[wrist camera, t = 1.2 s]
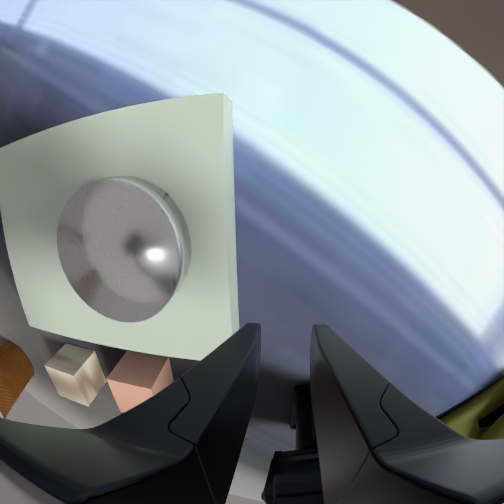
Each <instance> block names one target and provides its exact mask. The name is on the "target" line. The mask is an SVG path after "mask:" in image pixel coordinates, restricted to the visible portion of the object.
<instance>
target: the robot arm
mask: <svg viewBox="0 0 504 504" xmlns="http://www.w3.org/2000/svg"><path fill="white" fill-rule="evenodd" d="M260 353H261V325H260V324H259V323H246V324H245V325H244V326H242V327H241V328H240V329H239V330H238V331H236V332H235V333H234V334H233V335H232V336H230V337H229V338H228V339H227V340H226V341H224V342H223V343H222V344H221V345H219V346H218V347H217V348H216V349H214V350H213V351H212V352H211V353H209V354H208V355H207V356H206V357H204V358H203V359H202V360H201V361H199V362H198V363H197V364H196V365H194V366H193V367H192V368H191V369H189V370H188V371H187V372H185V373H184V374H183V375H182V376H181V377H180V378H177V379H176V380H175V381H174V382H172V383H171V384H170V385H168V386H167V387H165V388H164V389H163V390H161V391H160V392H158V393H157V394H155V395H154V396H152V397H150V398H149V399H147V400H145V401H144V402H142V403H140V404H139V405H137V406H135V407H133V408H132V409H130V410H128V411H126V412H124V413H122V414H121V415H119V416H117V417H115V418H113V419H111V420H109V421H108V422H106V423H104V424H101V425H99V426H96V427H93V428H89V429H66V428H56V427H48V426H40V425H33V424H27V423H21V422H15V421H10V420H7V419H3V418H0V504H225V502H226V499H227V496H228V493H229V489H230V486H231V483H232V479H233V476H234V473H235V469H236V466H237V462H238V459H239V455H240V452H241V448H242V445H243V441H244V437H245V434H246V430H247V427H248V423H249V419H250V415H251V412H252V408H253V404H254V400H255V396H256V390H257V382H258V373H259V363H260ZM298 390H301V391H298ZM290 428H291V429H296V450H294V451H284V452H282V451H275V453H274V457H273V459H272V461H271V465H270V469H269V473H268V476H267V480H266V484H265V488H264V490H263V492H262V495H261V497H262V500H263V501H265V502H266V504H504V439H497V440H476V439H471V438H468V437H465V436H463V435H461V434H459V433H458V432H456V431H455V430H453V429H452V428H450V427H449V426H447V425H446V424H444V423H443V422H441V421H440V420H439V419H437V418H436V417H434V416H433V415H431V414H430V413H428V412H427V411H426V410H424V409H423V408H421V407H420V406H419V405H417V404H416V403H415V402H413V401H412V400H411V399H410V398H408V397H407V396H406V395H405V394H404V393H402V392H401V391H400V390H399V389H398V388H397V387H395V386H394V385H393V384H392V383H390V381H389V380H388V379H386V378H385V377H384V376H383V375H382V374H381V373H380V372H379V371H377V370H376V369H375V368H374V367H373V366H372V365H371V364H370V363H369V362H367V361H366V360H365V359H364V358H363V357H362V356H361V355H360V354H359V353H357V352H356V351H355V350H354V349H353V348H352V347H351V346H350V345H349V344H347V343H346V342H345V341H344V340H343V339H342V338H341V337H340V336H339V335H337V334H336V333H335V332H334V331H333V330H332V329H331V328H330V327H329V326H327V325H314V326H313V328H312V336H311V345H310V385H298V386H296V387H295V388H294V394H293V403H292V411H291V419H290Z"/></svg>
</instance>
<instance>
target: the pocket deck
mask: <svg viewBox="0 0 504 504" xmlns="http://www.w3.org/2000/svg"><path fill="white" fill-rule="evenodd" d="M121 176H132V177H138V178H142V179H145V180H147V181H149V182H151V183H153V184H155V185H156V186H158V187H160V188H161V189H162V190H163V191H164V192H166V193H168V195H169V196H170V198H171V199H172V200H173V201H174V202H175V204H176V205H177V206H178V208H179V209H180V211H181V213H182V215H183V217H184V219H185V222H186V224H187V227H188V231H189V234H190V240H191V262H190V266H189V270H188V273H187V276H186V278H185V280H184V282H183V283H182V285H181V286H180V288H179V289H178V290H177V291H176V293H175V294H174V295H173V297H172V298H171V299H170V301H169V302H168V303H167V304H166V306H165V307H164V308H163V309H162V310H161V311H160V312H159V313H158V314H156V315H155V316H153V317H151V318H149V319H147V320H144V321H140V322H132V323H129V322H120V321H115V320H113V319H110V318H107V317H105V316H103V315H101V314H99V313H98V312H96V311H95V310H93V309H92V308H91V307H89V306H88V305H87V304H86V303H85V302H84V301H83V300H82V299H81V298H80V297H79V296H78V294H77V293H76V292H75V291H74V289H73V288H72V286H71V285H70V283H69V281H68V279H67V277H66V275H65V273H64V271H63V268H62V265H61V262H60V258H59V254H58V247H57V229H58V223H59V219H60V215H61V213H62V210H63V208H64V206H65V204H66V203H67V201H68V199H69V198H70V197H71V196H72V195H73V194H74V193H75V192H76V191H77V190H78V189H80V188H81V187H83V186H84V185H86V184H89V183H91V182H95V181H100V180H105V179H110V178H116V177H121ZM0 210H1V217H2V224H3V230H4V235H5V241H6V246H7V251H8V255H9V259H10V264H11V268H12V272H13V275H14V279H15V283H16V286H17V290H18V293H19V296H20V300H21V303H22V306H23V309H24V312H25V315H26V317H27V320H28V323H29V326H31V327H34V328H38V329H41V330H45V331H48V332H52V333H55V334H59V335H63V336H67V337H71V338H75V339H79V340H83V341H87V342H91V343H96V344H101V345H105V346H110V347H115V348H120V349H125V350H131V351H136V352H142V353H148V354H155V355H161V356H168V357H175V358H183V359H191V360H200V361H201V360H202V359H203V358H204V357H206V356H207V355H208V354H209V353H211V352H212V351H213V350H214V349H216V348H217V347H218V346H219V345H221V344H222V343H223V342H224V341H226V340H227V339H228V338H229V337H230V336H232V335H233V334H234V333H235V332H236V331H238V330H239V312H238V288H237V262H236V233H235V200H234V160H233V105H232V101H231V100H230V99H229V98H228V97H227V96H226V95H225V94H224V93H215V94H205V95H196V96H187V97H180V98H173V99H166V100H160V101H154V102H149V103H143V104H138V105H133V106H128V107H124V108H119V109H115V110H111V111H107V112H103V113H99V114H95V115H91V116H88V117H84V118H81V119H77V120H74V121H71V122H67V123H64V124H61V125H58V126H55V127H52V128H49V129H46V130H44V131H41V132H38V133H35V134H33V135H30V136H28V137H25V138H23V139H20V140H18V141H15V142H13V143H11V144H8V145H6V146H4V147H1V148H0Z"/></svg>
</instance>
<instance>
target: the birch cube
mask: <svg viewBox="0 0 504 504" xmlns="http://www.w3.org/2000/svg"><path fill="white" fill-rule="evenodd" d="M44 366H45V368H46V370H47V372H48V374H49V376H50V378H51V380H52V382H53V384H54V386H55V388H56V390H57V392H58V394H59V395H60V396H62V397H64V398H67V399H69V400H72V401H75V402H77V403H80V404H83V405H85V406H88V407H89V406H90V404H91V403H92V401H93V400H94V398H95V397H96V396H97V394H98V393H99V391H100V390H101V389H102V387H103V386H104V384H105V383H106V382H107V381H106V379H105V377H104V374H103V372H102V369H101V366H100V364H99V361H98V358H97V356H96V353H95V351H93V350H89V349H85V348H81V347H77V346H73V345H69V344H65V345H64V346H63V347H62V348H61V349H60V350H59V351H58V352H57V353H56V354H55V355H54V356H53V357H52V358H51V359H50V360H49V361H48V362H47V363H46V364H45V365H44Z"/></svg>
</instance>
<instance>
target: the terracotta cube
mask: <svg viewBox="0 0 504 504" xmlns="http://www.w3.org/2000/svg"><path fill="white" fill-rule="evenodd" d="M106 379H107V382H108V384H109V386H110V389H111V391H112V393H113V396H114V398H115V400H116V402H117V405H118V407H119V409H120V411H121V412H126V411H128V410H130V409H132V408H133V407H135V406H137V405H139V404H140V403H142V402H144V401H145V400H147V399H149V398H150V397H152V396H154V395H155V394H157V393H158V392H160V391H161V390H163V389H164V388H165V387H167V386H168V385H170V384H171V383H172V382H174V378H173V374H172V370H171V366H170V362H169V357H162V356H156V355H149V354H143V353H137V352H132V351H127V352H126V353H125V354H124V356H123V357H122V358H121V360H120V361H119V362H118V364H117V365H116V366H115V368H114V369H113V370H112V372H111V373H110V374H109V376H108V377H107V378H106Z"/></svg>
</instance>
